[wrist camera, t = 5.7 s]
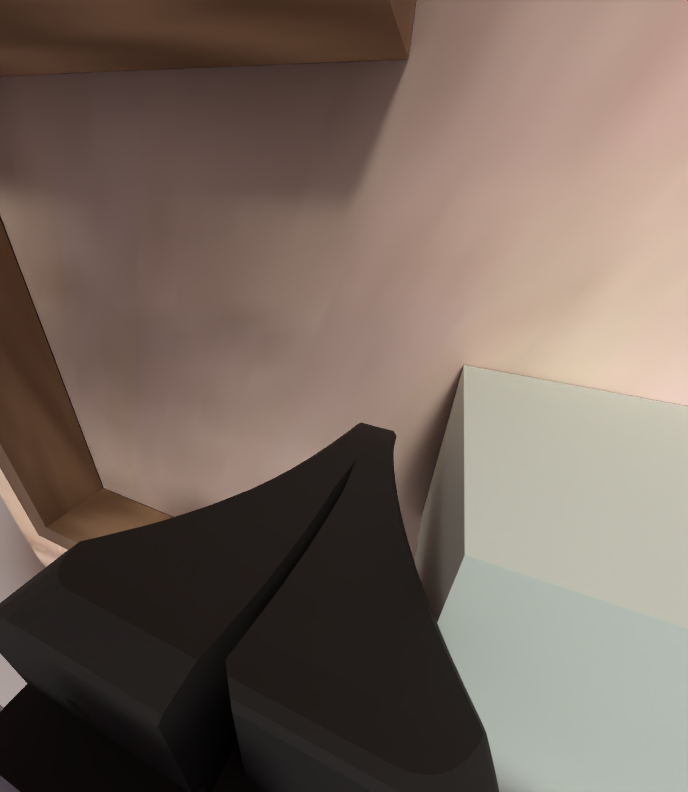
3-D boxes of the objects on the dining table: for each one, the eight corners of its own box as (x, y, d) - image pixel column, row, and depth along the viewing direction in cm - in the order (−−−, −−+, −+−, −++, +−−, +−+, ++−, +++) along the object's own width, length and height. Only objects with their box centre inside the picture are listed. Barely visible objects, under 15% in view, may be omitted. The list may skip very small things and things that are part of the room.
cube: (744, 416, 7) (1492, 895, 2) (613, 578, 10) (774, 943, 5) (463, 364, 8) (464, 555, 3) (420, 518, 11) (387, 746, 6)
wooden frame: (420, -33, 6) (383, -247, 3) (336, 599, 15) (310, 670, 13) (-97, 27, 10) (-294, -47, 7) (94, 496, 20) (38, 535, 17)
